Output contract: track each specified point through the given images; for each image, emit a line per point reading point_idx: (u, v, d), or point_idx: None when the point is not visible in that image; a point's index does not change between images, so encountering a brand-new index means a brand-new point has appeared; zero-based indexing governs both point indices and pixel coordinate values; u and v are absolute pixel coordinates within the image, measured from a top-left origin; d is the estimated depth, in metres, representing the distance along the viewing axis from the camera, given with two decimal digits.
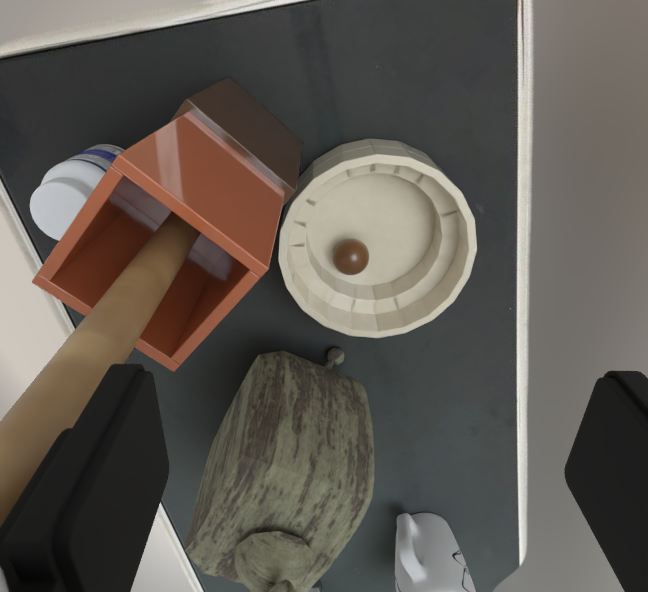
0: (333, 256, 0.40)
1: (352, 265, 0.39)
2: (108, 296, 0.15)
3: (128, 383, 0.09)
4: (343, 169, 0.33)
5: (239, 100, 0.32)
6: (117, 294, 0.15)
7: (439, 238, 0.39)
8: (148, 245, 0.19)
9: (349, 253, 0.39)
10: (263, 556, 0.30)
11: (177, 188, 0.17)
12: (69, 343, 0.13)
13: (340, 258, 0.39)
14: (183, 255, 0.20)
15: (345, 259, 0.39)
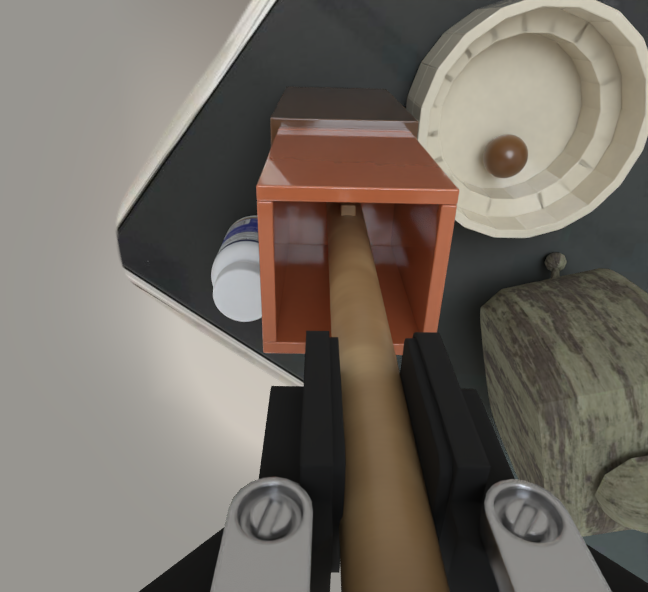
0: (488, 168, 0.35)
1: (513, 161, 0.34)
2: (336, 312, 0.14)
3: (329, 346, 0.10)
4: (443, 75, 0.29)
5: (309, 95, 0.31)
6: (343, 305, 0.14)
7: (588, 66, 0.32)
8: (332, 253, 0.17)
9: (502, 153, 0.34)
10: (633, 490, 0.26)
11: (324, 180, 0.16)
12: None
13: (496, 164, 0.34)
14: (367, 242, 0.18)
15: (502, 161, 0.34)
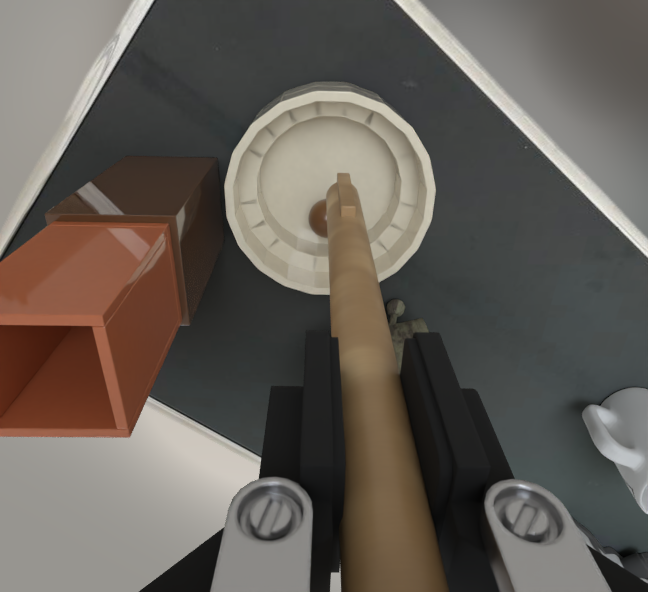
0: (312, 229, 0.38)
1: None
2: (336, 313, 0.14)
3: (329, 346, 0.10)
4: (238, 158, 0.32)
5: (128, 171, 0.34)
6: (343, 307, 0.14)
7: None
8: (332, 255, 0.17)
9: (319, 217, 0.37)
10: None
11: None
12: None
13: (316, 227, 0.37)
14: (367, 243, 0.18)
15: (319, 225, 0.37)
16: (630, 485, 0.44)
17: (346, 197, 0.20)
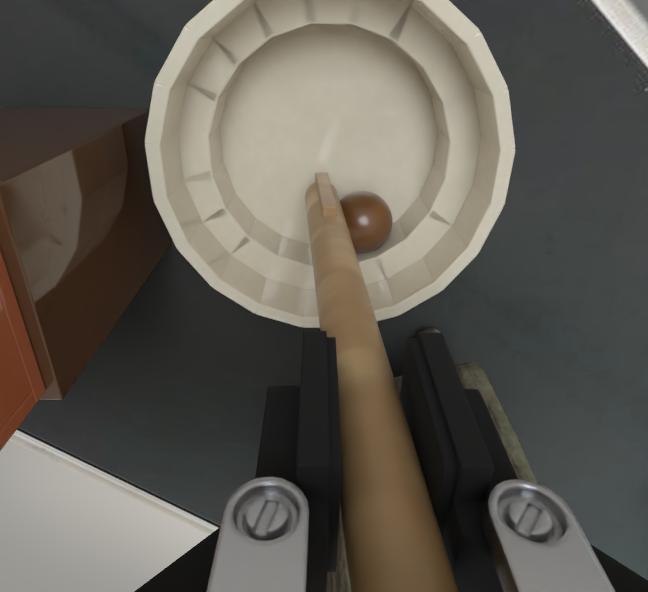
0: None
1: (382, 243, 0.24)
2: (325, 316, 0.14)
3: (327, 345, 0.10)
4: (165, 92, 0.18)
5: None
6: (331, 309, 0.14)
7: (424, 74, 0.21)
8: (317, 256, 0.17)
9: (374, 240, 0.23)
10: None
11: None
12: None
13: (363, 249, 0.24)
14: (350, 243, 0.18)
15: (372, 247, 0.24)
16: None
17: (326, 197, 0.20)
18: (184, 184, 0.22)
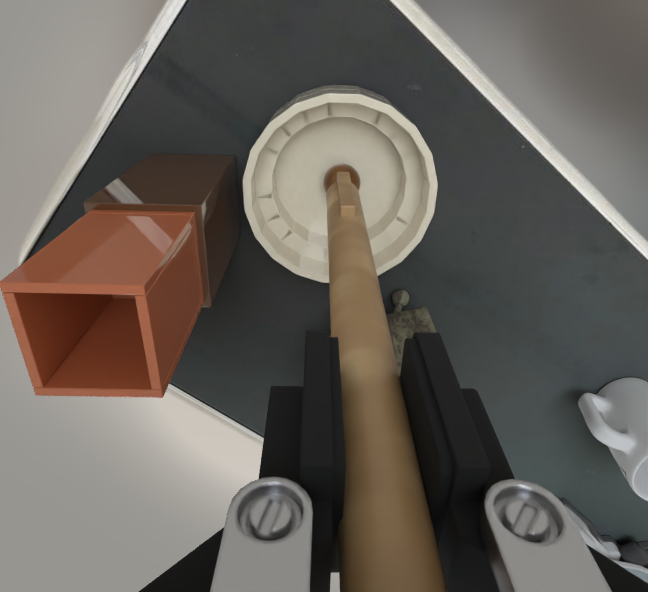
0: None
1: (323, 180, 0.40)
2: (336, 315, 0.14)
3: (329, 346, 0.10)
4: (256, 155, 0.35)
5: (154, 167, 0.37)
6: (342, 308, 0.14)
7: None
8: (332, 255, 0.17)
9: None
10: None
11: (54, 275, 0.22)
12: None
13: None
14: (367, 243, 0.18)
15: None
16: (623, 468, 0.46)
17: (346, 196, 0.20)
18: (256, 200, 0.39)
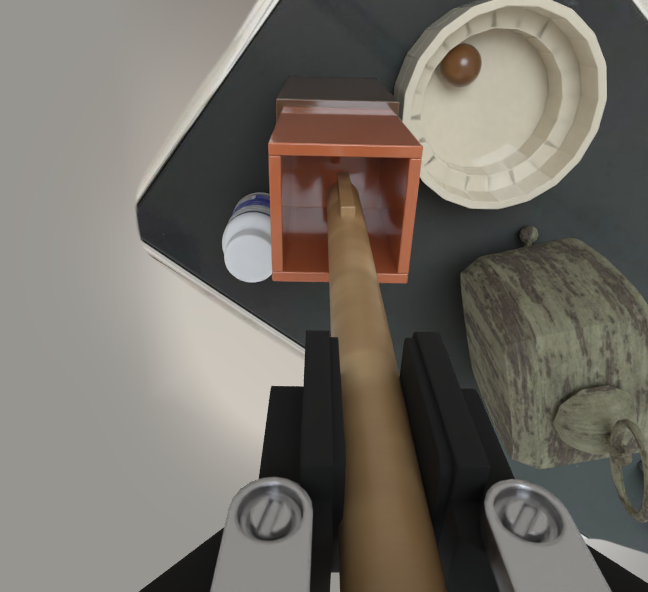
0: (458, 82, 0.37)
1: None
2: (336, 316, 0.14)
3: (329, 346, 0.10)
4: (423, 65, 0.33)
5: (308, 82, 0.35)
6: (342, 309, 0.14)
7: (551, 57, 0.36)
8: (332, 256, 0.17)
9: None
10: (583, 416, 0.31)
11: (319, 139, 0.20)
12: None
13: None
14: (367, 244, 0.18)
15: None
16: None
17: (346, 197, 0.20)
18: None
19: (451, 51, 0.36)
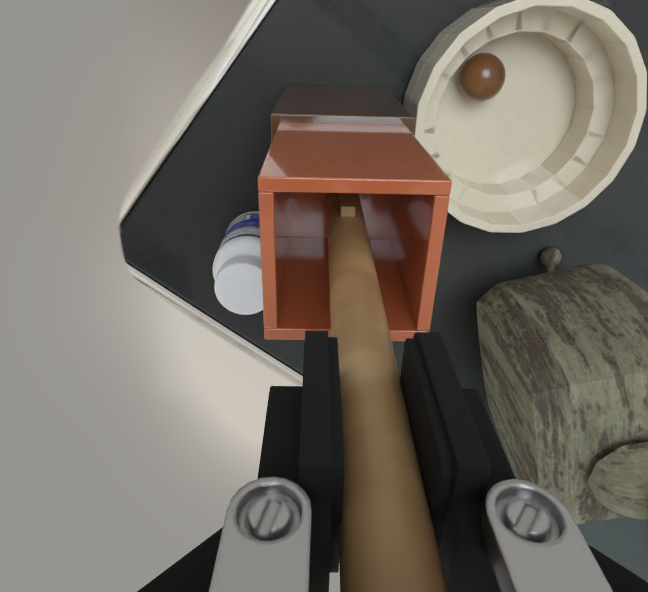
0: (480, 98, 0.33)
1: None
2: (336, 316, 0.14)
3: (329, 346, 0.10)
4: (439, 73, 0.29)
5: (308, 92, 0.31)
6: (342, 309, 0.14)
7: (581, 64, 0.32)
8: (332, 256, 0.17)
9: None
10: (624, 477, 0.27)
11: (322, 171, 0.16)
12: None
13: None
14: (367, 244, 0.18)
15: None
16: None
17: (346, 197, 0.20)
18: None
19: (473, 64, 0.32)
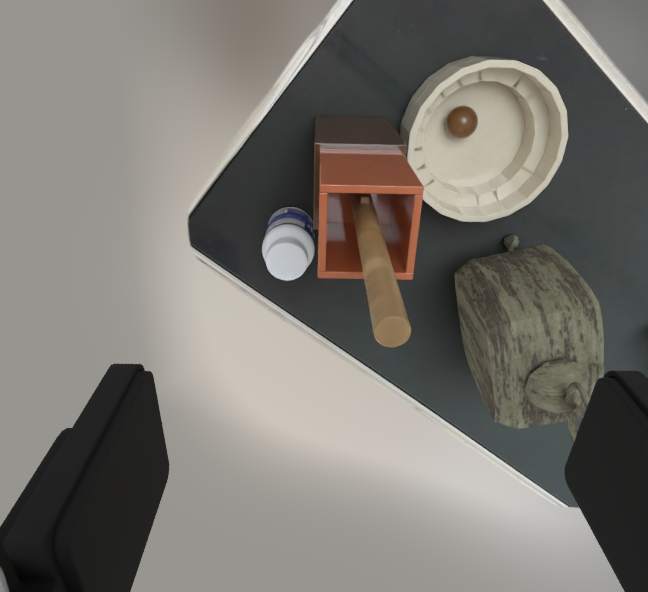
0: None
1: None
2: (363, 247, 0.28)
3: (128, 383, 0.09)
4: (424, 111, 0.43)
5: (333, 123, 0.45)
6: (366, 244, 0.28)
7: (525, 102, 0.46)
8: (358, 223, 0.31)
9: None
10: (546, 382, 0.40)
11: (353, 181, 0.30)
12: (366, 268, 0.26)
13: None
14: (376, 217, 0.32)
15: None
16: None
17: None
18: None
19: (461, 124, 0.46)
